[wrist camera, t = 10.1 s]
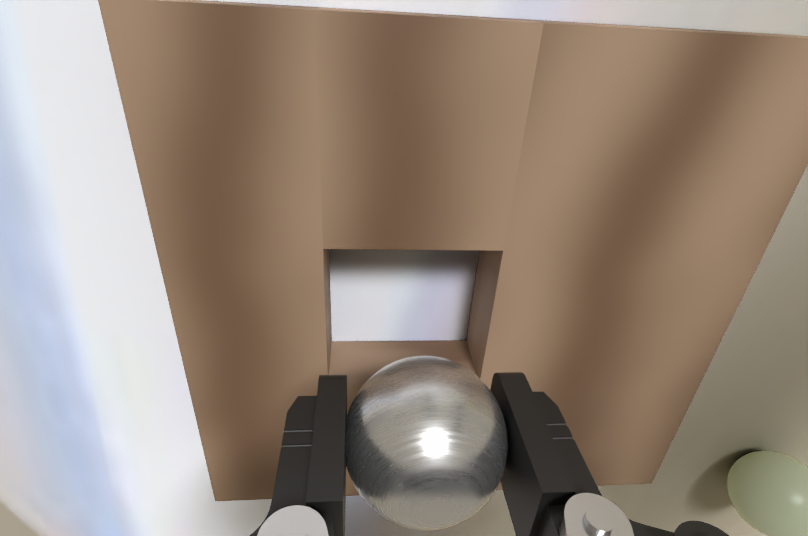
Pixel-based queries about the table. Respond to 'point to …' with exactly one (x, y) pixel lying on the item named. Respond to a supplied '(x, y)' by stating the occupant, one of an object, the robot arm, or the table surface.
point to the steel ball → (425, 443)
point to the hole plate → (455, 202)
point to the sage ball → (770, 492)
